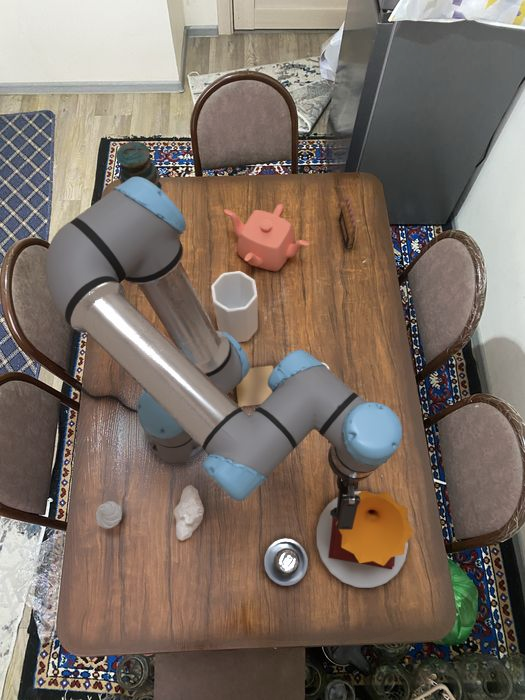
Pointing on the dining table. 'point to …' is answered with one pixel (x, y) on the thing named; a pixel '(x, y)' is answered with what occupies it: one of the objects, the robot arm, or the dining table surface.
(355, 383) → the dining table surface
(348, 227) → the bullet clip
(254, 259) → the pot
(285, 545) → the grey cylinder
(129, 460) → the dining table surface
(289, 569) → the green can
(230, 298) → the cup
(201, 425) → the robot arm
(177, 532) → the white rock
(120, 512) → the ice cream cone
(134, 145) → the lantern
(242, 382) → the coaster
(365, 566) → the gramophone
